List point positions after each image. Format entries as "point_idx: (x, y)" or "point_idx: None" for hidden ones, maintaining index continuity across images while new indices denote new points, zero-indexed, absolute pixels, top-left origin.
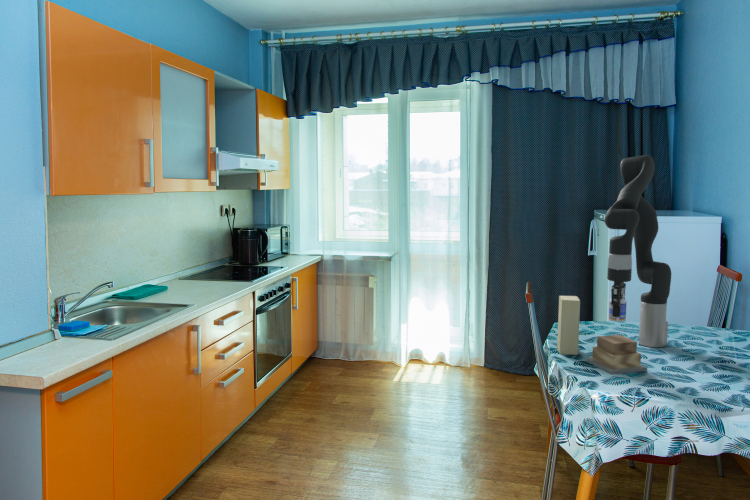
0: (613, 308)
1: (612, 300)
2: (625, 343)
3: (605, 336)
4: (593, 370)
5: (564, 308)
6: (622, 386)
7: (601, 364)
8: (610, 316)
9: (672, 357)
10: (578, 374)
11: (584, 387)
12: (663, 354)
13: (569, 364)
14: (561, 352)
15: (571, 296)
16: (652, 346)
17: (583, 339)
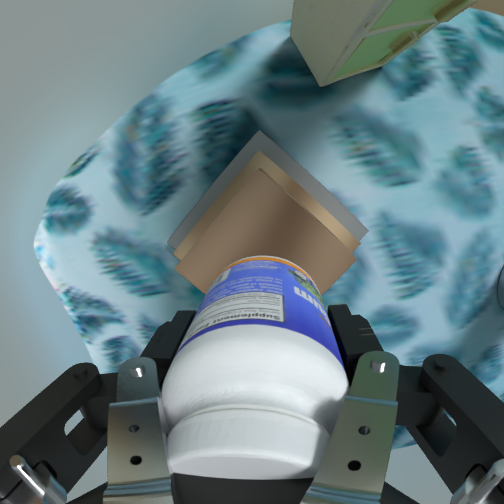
0: (160, 349)
1: (48, 398)
2: None
3: (285, 204)
4: (175, 182)
5: None
6: (103, 285)
7: (214, 198)
8: (213, 283)
9: (432, 348)
10: (113, 158)
11: (45, 209)
12: (451, 325)
13: (189, 97)
14: (292, 37)
15: None
16: (498, 289)
17: (491, 88)
